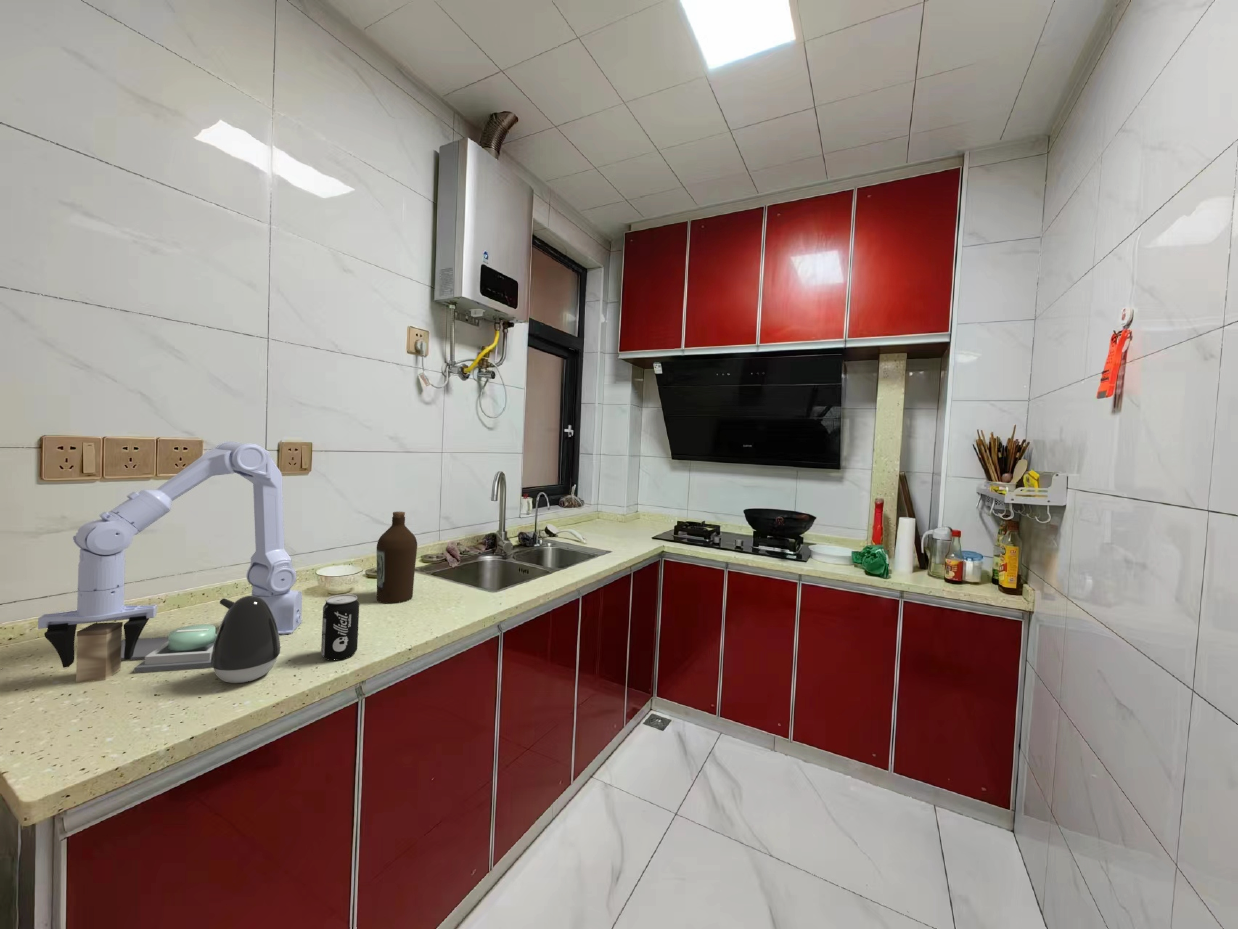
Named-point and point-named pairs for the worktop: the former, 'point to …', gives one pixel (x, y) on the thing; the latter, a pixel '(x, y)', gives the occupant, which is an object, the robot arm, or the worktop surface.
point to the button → (191, 637)
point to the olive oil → (396, 562)
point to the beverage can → (340, 626)
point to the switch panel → (176, 659)
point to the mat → (144, 647)
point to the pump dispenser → (245, 641)
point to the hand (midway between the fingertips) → (99, 661)
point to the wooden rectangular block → (98, 651)
